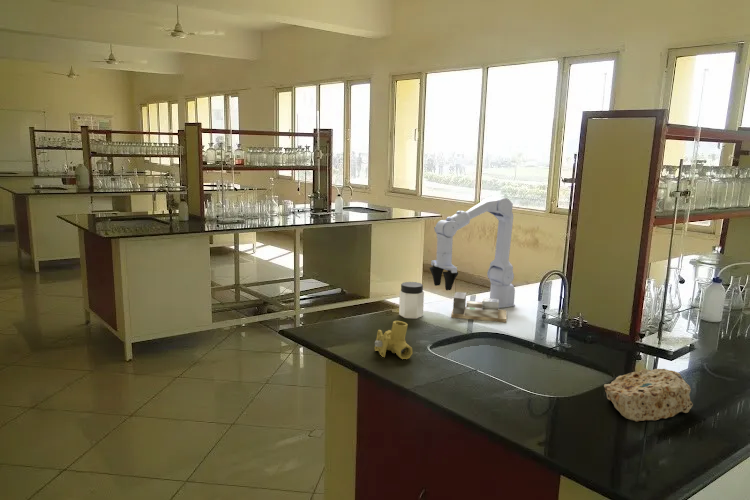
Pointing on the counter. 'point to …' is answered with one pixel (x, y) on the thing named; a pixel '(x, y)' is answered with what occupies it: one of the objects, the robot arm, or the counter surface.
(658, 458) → the counter surface
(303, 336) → the counter surface
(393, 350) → the ball valve
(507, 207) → the robot arm
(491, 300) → the grey box
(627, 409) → the rock
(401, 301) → the jar
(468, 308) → the stand
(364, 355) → the counter surface
